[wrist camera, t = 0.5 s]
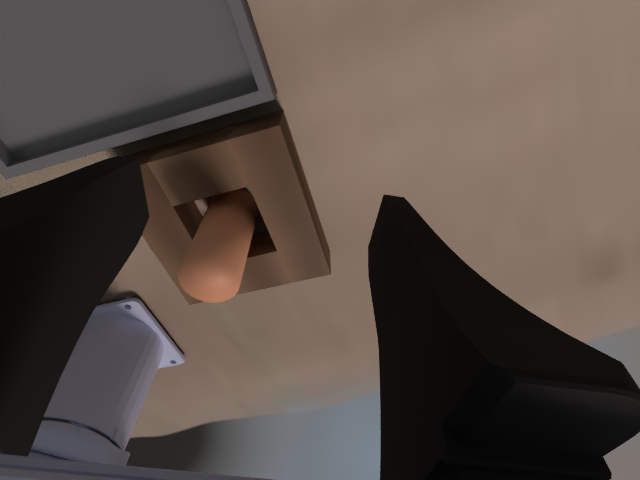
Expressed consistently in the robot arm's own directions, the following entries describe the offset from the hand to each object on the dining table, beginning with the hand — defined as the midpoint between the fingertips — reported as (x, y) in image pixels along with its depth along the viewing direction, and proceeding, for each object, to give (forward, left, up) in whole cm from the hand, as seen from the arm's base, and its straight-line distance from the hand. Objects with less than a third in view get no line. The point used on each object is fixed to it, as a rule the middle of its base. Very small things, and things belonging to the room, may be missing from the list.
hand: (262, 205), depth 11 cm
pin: (-5, -5, -11) cm, 13 cm away
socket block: (-5, -5, -11) cm, 13 cm away
